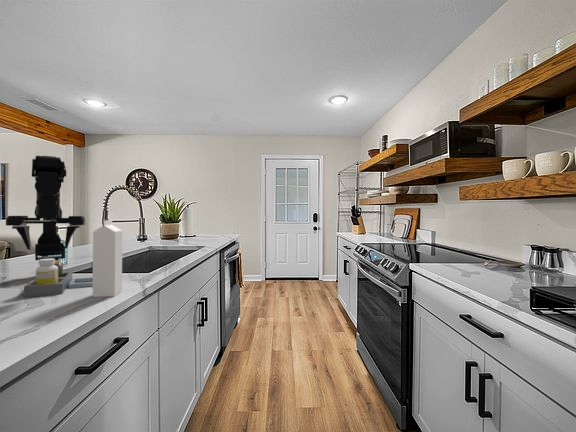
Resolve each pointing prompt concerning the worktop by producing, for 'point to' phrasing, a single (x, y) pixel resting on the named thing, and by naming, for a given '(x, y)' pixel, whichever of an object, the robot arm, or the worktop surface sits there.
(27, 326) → the worktop surface
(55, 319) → the worktop surface
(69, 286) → the tray frame
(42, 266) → the supplement bottle
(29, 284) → the shallow grey tray
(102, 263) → the milk
